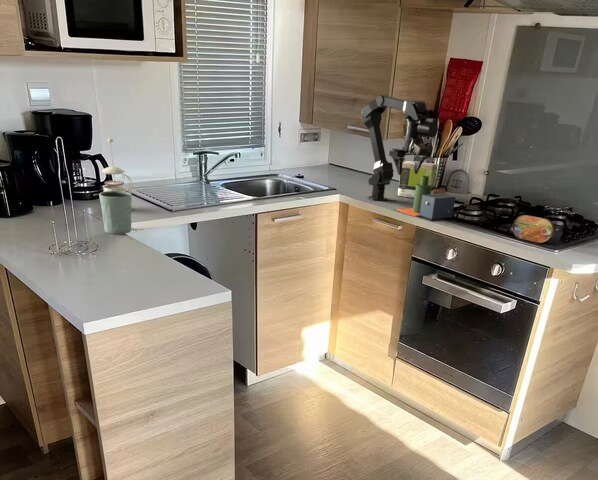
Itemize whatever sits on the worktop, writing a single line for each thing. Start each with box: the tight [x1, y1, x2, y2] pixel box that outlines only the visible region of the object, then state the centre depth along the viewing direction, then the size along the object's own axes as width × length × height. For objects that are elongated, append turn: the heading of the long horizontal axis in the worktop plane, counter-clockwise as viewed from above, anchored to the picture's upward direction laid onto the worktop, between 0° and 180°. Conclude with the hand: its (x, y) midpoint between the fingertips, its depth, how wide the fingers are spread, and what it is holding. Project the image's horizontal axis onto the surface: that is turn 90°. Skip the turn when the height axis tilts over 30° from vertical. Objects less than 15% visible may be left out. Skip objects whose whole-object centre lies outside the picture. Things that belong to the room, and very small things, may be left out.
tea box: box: [397, 160, 439, 199], centre depth 278 cm, size 15×10×15 cm, turn 65°
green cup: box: [98, 191, 133, 235], centre depth 198 cm, size 10×10×12 cm
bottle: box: [412, 176, 432, 213], centre depth 247 cm, size 6×6×14 cm
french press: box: [101, 137, 133, 193], centre depth 223 cm, size 10×12×25 cm
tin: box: [512, 214, 556, 244], centre depth 217 cm, size 15×3×8 cm, turn 45°
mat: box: [396, 207, 420, 217], centre depth 251 cm, size 12×14×1 cm
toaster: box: [418, 192, 456, 222], centre depth 242 cm, size 8×12×9 cm, turn 122°
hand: (407, 174), depth 255 cm, fingers open, 9 cm apart
